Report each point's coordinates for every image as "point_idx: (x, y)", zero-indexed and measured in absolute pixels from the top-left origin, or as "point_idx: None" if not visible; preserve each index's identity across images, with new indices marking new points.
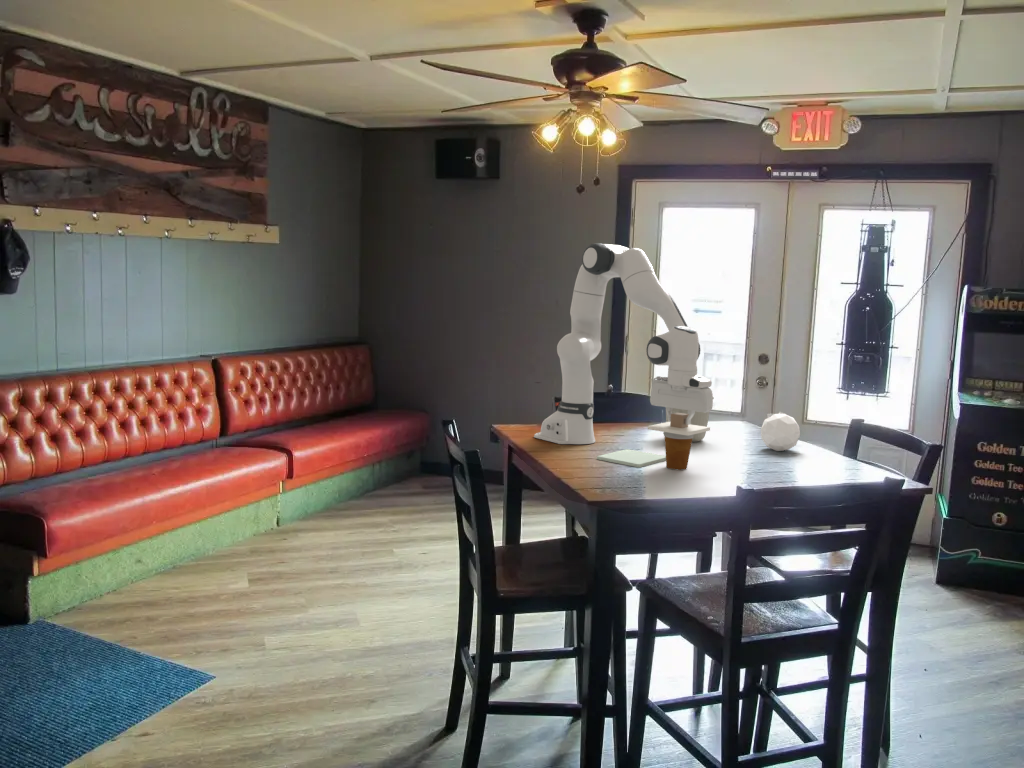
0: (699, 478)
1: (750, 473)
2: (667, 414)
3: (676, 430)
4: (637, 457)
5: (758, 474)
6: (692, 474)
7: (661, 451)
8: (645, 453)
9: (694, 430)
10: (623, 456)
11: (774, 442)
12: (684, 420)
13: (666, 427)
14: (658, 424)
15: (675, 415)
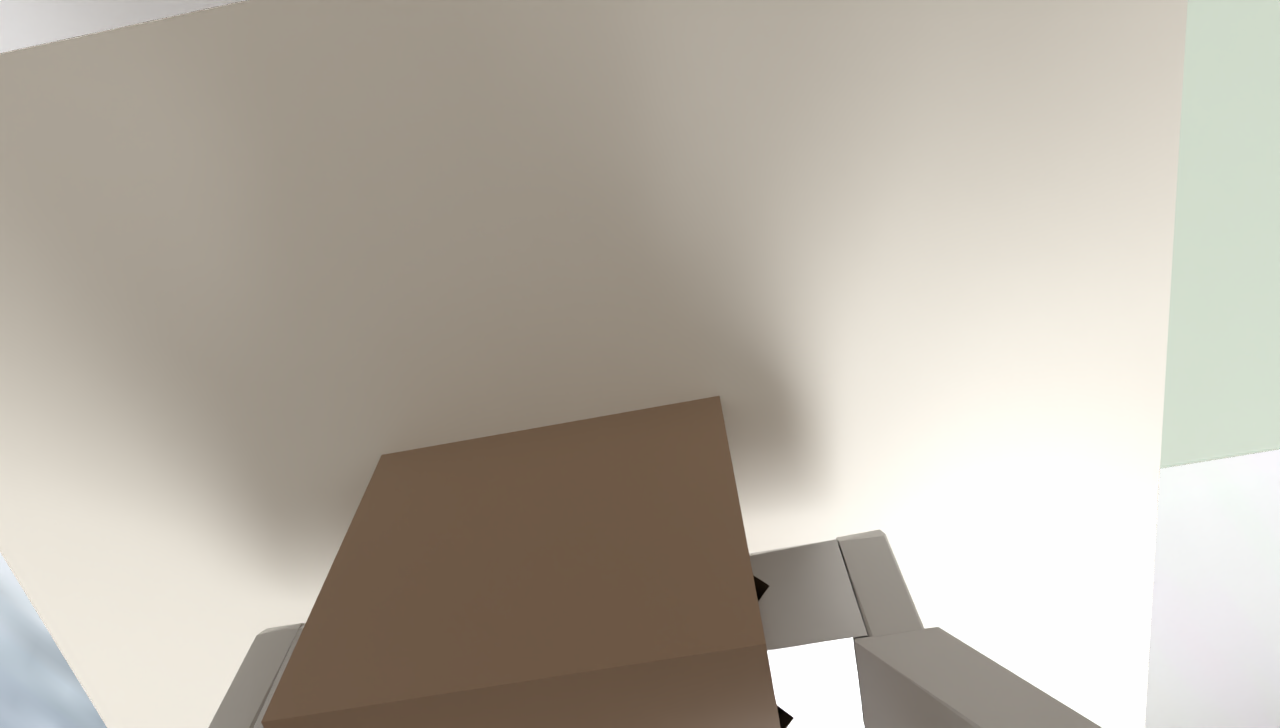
0: (7, 4)
1: (69, 672)
2: (989, 661)
3: (123, 34)
4: (1212, 117)
5: (10, 697)
6: None
7: (1231, 698)
8: (1258, 400)
9: (2, 493)
10: None
11: None
12: None
13: (669, 182)
14: (1113, 356)
15: (566, 648)
